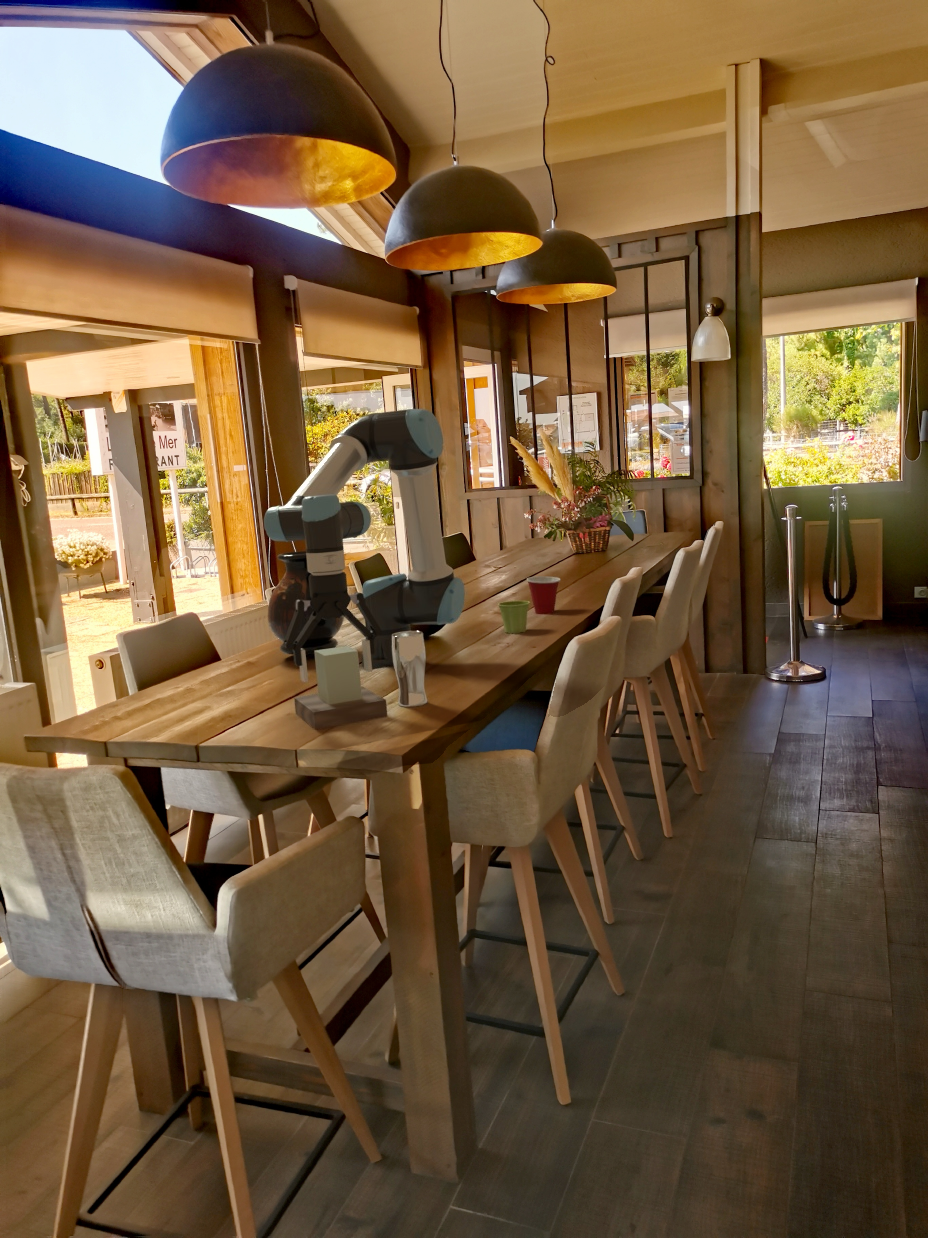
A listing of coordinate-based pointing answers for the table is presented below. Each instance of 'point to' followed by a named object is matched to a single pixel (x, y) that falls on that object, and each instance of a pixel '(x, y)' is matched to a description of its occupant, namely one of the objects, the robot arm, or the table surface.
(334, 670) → the sage block
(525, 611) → the plant pot
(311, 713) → the walnut block
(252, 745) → the table surface
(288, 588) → the amphora vase
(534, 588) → the plastic cup
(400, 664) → the beer glass
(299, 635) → the robot arm
